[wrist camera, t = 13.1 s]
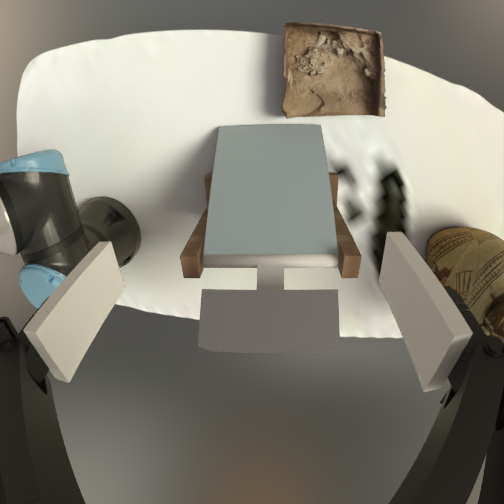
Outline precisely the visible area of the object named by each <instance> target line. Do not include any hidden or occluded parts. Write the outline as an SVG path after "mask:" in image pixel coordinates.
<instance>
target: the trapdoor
mask: <svg viewBox="0 0 504 504" xmlns="http://www.w3.org/2000/svg"><path fill="white" fill-rule="evenodd" d="M203 265H204V267H205V268H257V290H212V289H202V297H201V310H200V325H199V342H198V346H199V347H202V348H205V349H208V350H211V351H222V352H248V353H251V352H252V353H312V352H329V351H332V350H335V349H337V348H340V336H339V307H338V289H336V290H284V268H322V267H338V248H337V238H336V228H335V219H334V210H333V202H332V194H331V186H330V179H329V172H328V165H327V159H326V153H325V146H324V140H323V135H322V129H321V125H243V126H225V127H219V132H218V139H217V145H216V153H215V160H214V167H213V175H212V183H211V191H210V199H209V207H208V216H207V225H206V235H205V244H204V255H203Z"/></svg>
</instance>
